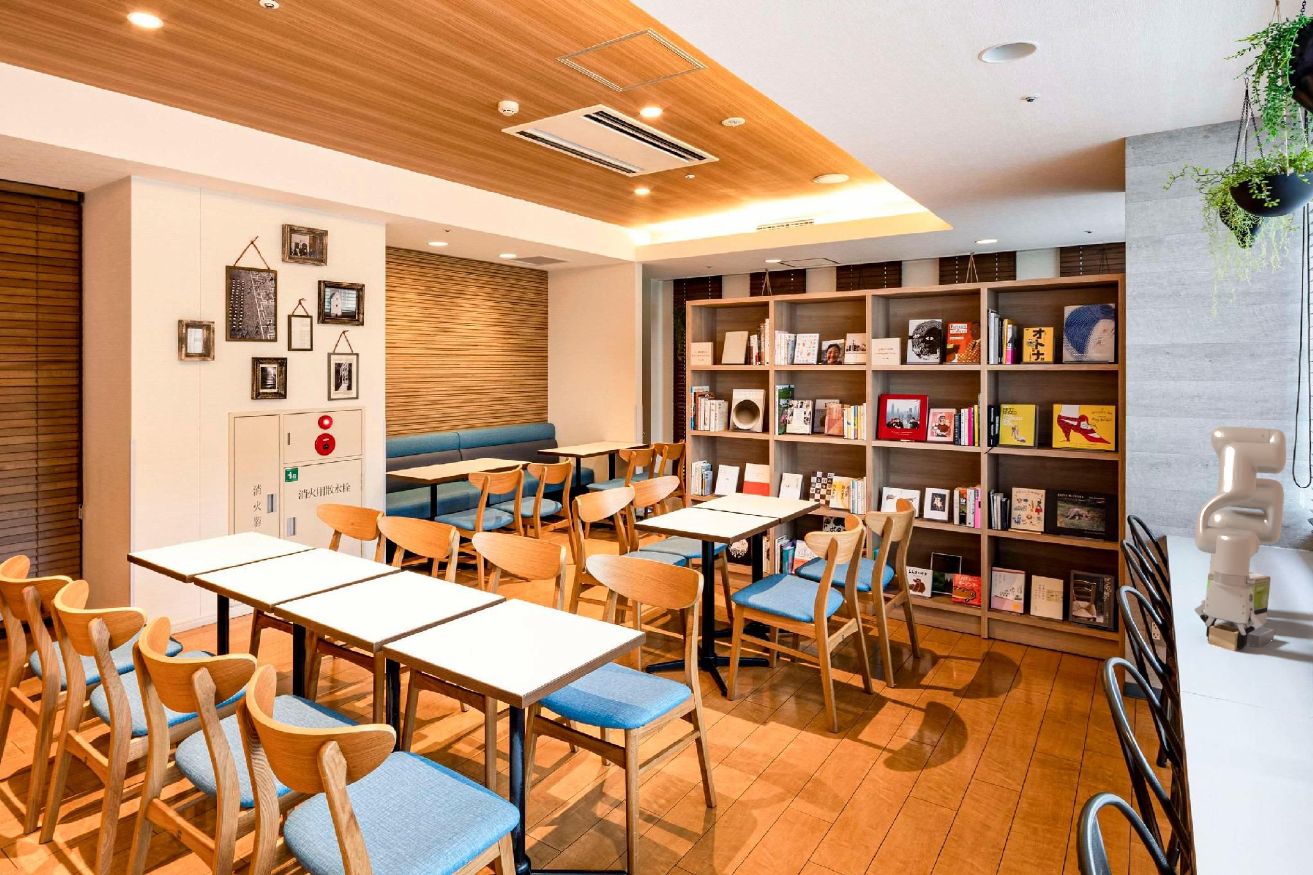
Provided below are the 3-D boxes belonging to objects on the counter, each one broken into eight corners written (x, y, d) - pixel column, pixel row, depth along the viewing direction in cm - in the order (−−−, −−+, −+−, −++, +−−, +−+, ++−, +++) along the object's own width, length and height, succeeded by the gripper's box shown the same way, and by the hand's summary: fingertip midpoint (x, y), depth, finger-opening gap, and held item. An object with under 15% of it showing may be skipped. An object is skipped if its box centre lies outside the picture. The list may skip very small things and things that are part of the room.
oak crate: (1217, 640, 211) (1218, 623, 211) (1243, 647, 206) (1244, 629, 206) (1208, 644, 208) (1209, 627, 207) (1234, 651, 203) (1235, 633, 202)
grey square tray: (1228, 629, 221) (1229, 619, 220) (1273, 640, 212) (1274, 629, 211) (1212, 635, 215) (1213, 625, 214) (1258, 647, 206) (1259, 636, 206)
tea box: (1240, 631, 219) (1244, 580, 218) (1202, 621, 228) (1205, 572, 227) (1267, 623, 226) (1271, 575, 225) (1229, 614, 235) (1233, 567, 234)
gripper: (1275, 584, 200) (1270, 651, 202) (1200, 570, 215) (1195, 632, 216) (1264, 589, 196) (1258, 656, 198) (1188, 573, 210) (1183, 637, 212)
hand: (1225, 643), depth 207 cm, fingers open, 6 cm apart
